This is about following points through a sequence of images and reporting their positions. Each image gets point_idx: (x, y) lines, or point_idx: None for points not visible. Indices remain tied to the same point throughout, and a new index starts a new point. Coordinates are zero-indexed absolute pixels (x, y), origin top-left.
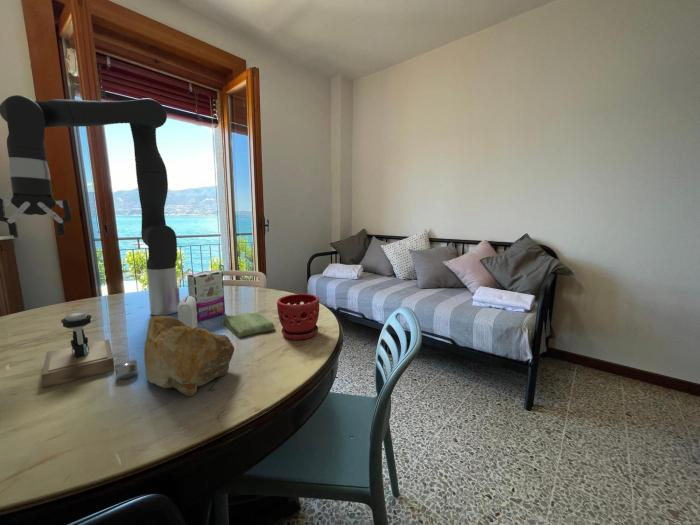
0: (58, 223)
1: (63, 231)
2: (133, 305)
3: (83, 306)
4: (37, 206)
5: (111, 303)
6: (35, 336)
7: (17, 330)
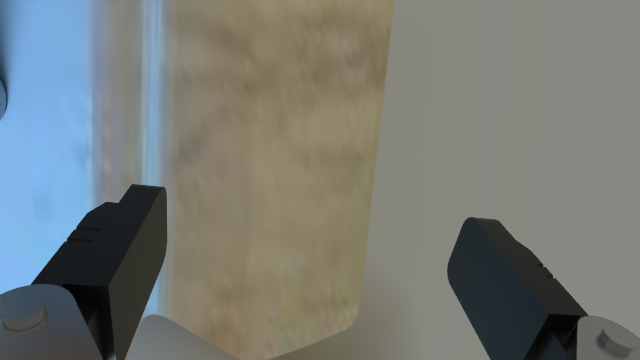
0: (85, 306)
1: (90, 223)
2: None
3: (203, 314)
4: None
5: None
6: (324, 109)
7: (350, 196)
